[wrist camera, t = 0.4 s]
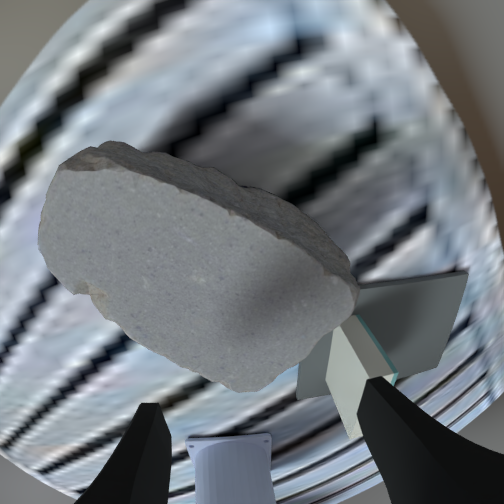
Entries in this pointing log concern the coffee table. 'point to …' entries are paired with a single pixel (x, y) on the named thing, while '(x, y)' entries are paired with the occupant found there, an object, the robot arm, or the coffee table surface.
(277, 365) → the decorative stone
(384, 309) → the mat
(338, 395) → the tile
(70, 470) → the coffee table surface
